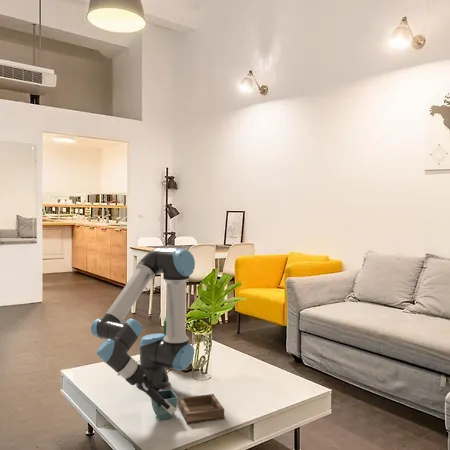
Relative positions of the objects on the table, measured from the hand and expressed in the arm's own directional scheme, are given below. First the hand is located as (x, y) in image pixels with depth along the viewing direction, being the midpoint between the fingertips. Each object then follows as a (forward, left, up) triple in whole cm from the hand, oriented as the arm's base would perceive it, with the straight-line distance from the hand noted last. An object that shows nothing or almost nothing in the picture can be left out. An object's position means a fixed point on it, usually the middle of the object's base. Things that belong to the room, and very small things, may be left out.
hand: (171, 406), depth 178 cm
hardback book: (-62, +13, -4) cm, 63 cm away
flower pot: (0, -3, -4) cm, 5 cm away
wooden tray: (+1, +12, -4) cm, 12 cm away
